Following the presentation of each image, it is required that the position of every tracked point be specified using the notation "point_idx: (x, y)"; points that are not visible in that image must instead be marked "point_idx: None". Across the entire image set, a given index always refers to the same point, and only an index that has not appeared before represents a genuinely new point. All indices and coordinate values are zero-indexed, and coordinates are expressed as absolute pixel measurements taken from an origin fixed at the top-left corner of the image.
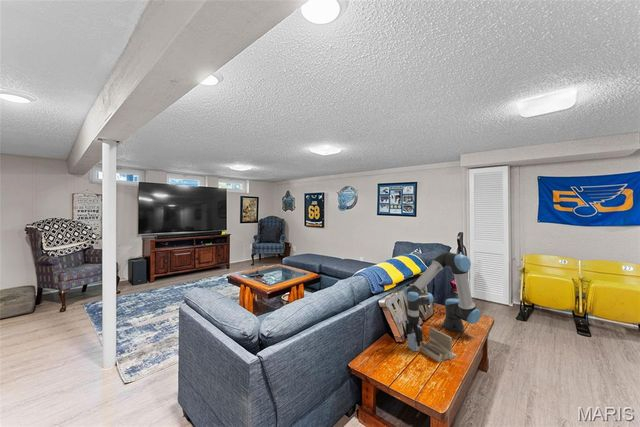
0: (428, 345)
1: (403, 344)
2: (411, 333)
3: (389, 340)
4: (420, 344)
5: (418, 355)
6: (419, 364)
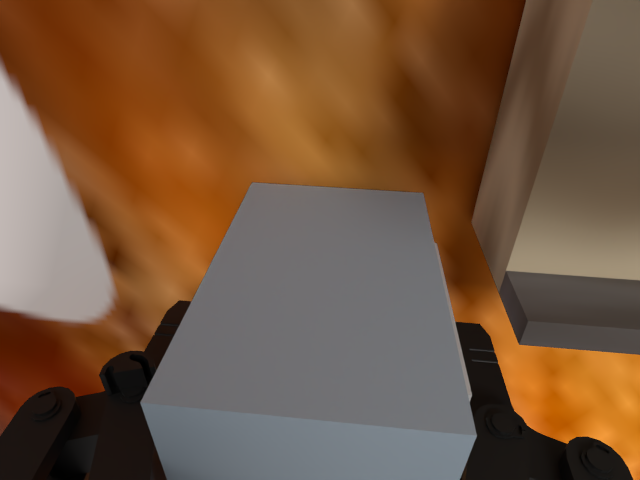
0: (630, 146)
1: (153, 277)
2: (173, 472)
3: (5, 342)
4: (434, 248)
5: (494, 324)
6: (611, 437)
